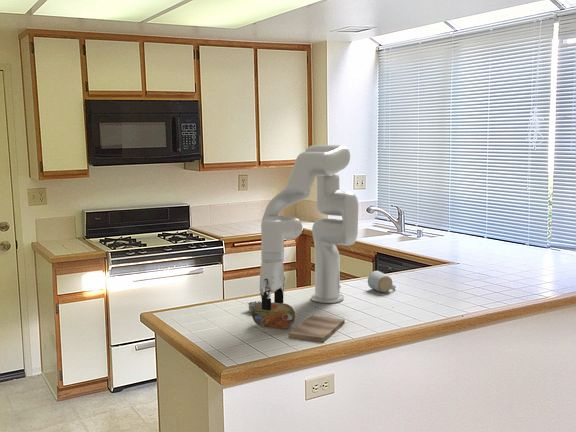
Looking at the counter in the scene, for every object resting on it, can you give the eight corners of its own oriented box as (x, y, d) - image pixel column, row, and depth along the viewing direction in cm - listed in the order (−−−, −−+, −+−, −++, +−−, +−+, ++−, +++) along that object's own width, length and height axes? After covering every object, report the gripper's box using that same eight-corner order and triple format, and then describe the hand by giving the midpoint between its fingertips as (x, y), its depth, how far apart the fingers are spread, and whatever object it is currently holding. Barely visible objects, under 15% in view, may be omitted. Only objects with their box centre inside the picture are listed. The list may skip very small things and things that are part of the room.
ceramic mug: (378, 294, 253) (379, 275, 252) (367, 289, 260) (367, 271, 259) (400, 291, 258) (400, 272, 257) (387, 286, 265) (388, 268, 264)
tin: (251, 326, 216) (251, 302, 215) (255, 323, 219) (255, 299, 218) (293, 330, 211) (293, 306, 210) (296, 327, 214) (296, 303, 212)
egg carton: (279, 313, 230) (279, 302, 230) (264, 318, 225) (264, 307, 225) (261, 307, 238) (260, 297, 237) (245, 311, 233) (245, 300, 232)
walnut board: (312, 319, 222) (312, 315, 222) (344, 323, 217) (344, 319, 217) (288, 337, 204) (288, 332, 204) (323, 342, 199) (323, 337, 199)
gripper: (273, 251, 220) (273, 299, 223) (250, 260, 205) (250, 311, 207) (293, 252, 217) (293, 301, 220) (271, 261, 202) (271, 314, 204)
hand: (272, 306), depth 213 cm, fingers open, 9 cm apart
